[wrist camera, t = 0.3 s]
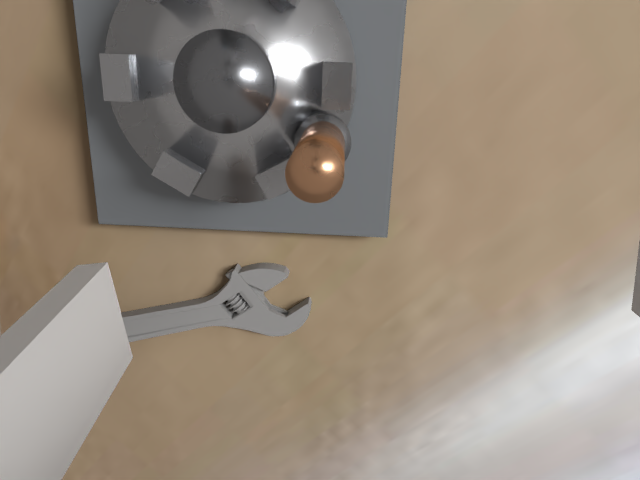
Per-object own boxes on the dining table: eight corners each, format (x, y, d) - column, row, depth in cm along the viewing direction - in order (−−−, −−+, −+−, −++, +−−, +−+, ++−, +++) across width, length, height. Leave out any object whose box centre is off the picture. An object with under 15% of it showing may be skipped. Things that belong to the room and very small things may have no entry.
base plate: (75, -104, 35) (59, -113, 33) (411, -95, 34) (415, -104, 32) (109, 216, 42) (98, 223, 40) (385, 229, 41) (387, 237, 39)
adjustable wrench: (40, 353, 47) (28, 364, 46) (16, 288, 45) (3, 297, 44) (313, 323, 45) (311, 333, 43) (300, 253, 43) (298, 261, 41)
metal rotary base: (87, 116, 37) (-39, 147, 25) (188, -108, 32) (92, -205, 20) (289, 236, 40) (263, 319, 27) (412, 45, 35) (447, 42, 23)
